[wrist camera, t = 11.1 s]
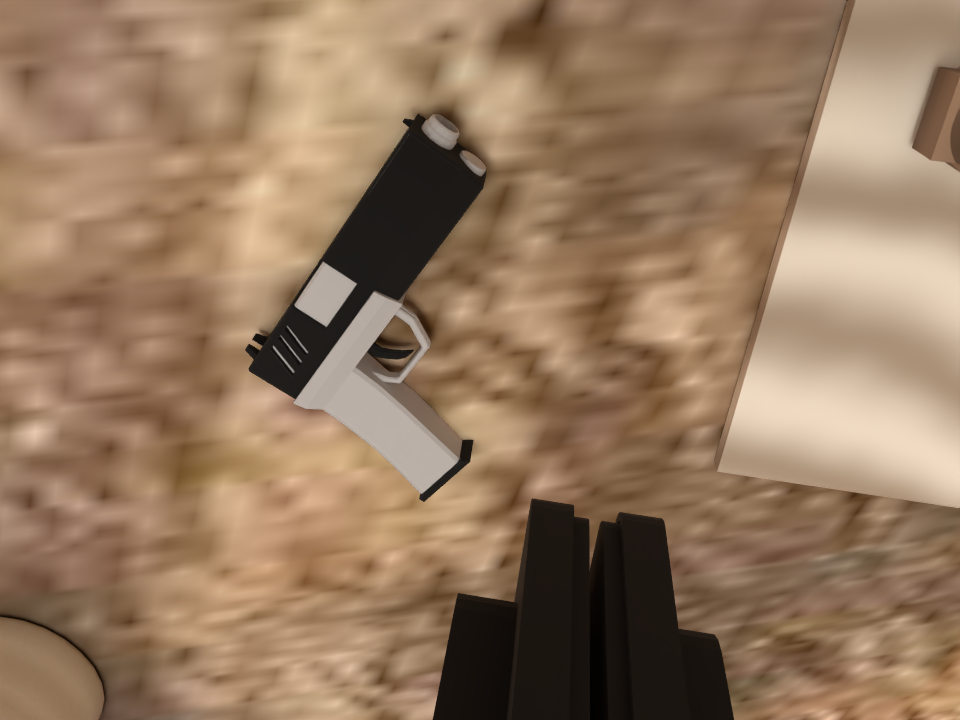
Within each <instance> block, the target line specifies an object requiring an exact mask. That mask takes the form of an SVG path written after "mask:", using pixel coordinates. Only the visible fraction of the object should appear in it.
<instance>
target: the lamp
mask: <svg viewBox="0 0 960 720" xmlns="http://www.w3.org/2000/svg"><path fill="white" fill-rule="evenodd" d="M104 700H105V699H104V692H103V686H102V682H101V680H100V678H99V676H98V674H97V672H96V670H95V668H94V667H93V665H92V664H91V663H90V662H89V661H88V660H87V658H86V657H85V656H84V655H83V654H82V653H81V652H80V651H79V650H78V649H77V648H75V647H74V646H73V645H72V644H70V643H69V642H68V641H67V640H65V639H64V638H62V637H60V636H59V635H57V634H55V633H53V632H51V631H49V630H48V629H46V628H44V627H41V626H38V625H35V624H32V623H29V622H27V621H24V620H18V619H12V618H6V617H0V720H99V718H100V716H101V713H102V708H103V704H104Z"/></svg>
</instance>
